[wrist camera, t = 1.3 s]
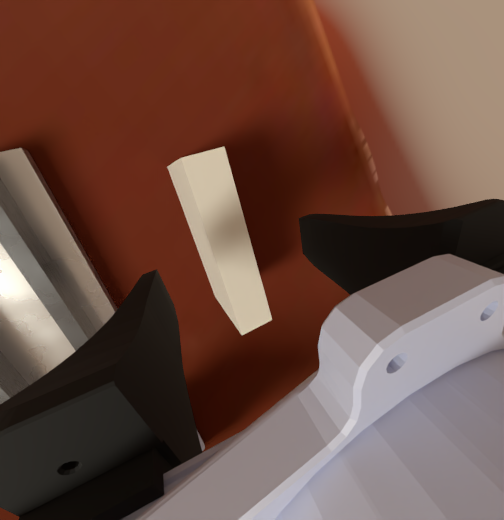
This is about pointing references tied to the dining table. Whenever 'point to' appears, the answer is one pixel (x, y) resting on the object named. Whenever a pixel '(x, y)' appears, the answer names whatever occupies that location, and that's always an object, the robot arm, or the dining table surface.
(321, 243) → the robot arm
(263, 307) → the door panel
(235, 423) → the dining table surface
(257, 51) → the dining table surface
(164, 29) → the dining table surface
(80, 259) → the bottom track
